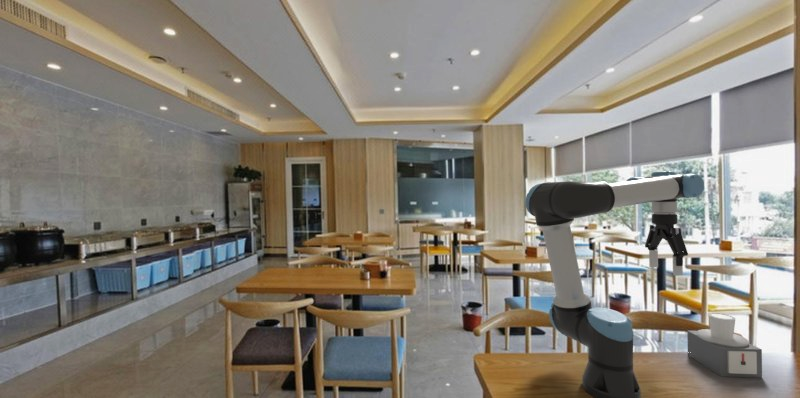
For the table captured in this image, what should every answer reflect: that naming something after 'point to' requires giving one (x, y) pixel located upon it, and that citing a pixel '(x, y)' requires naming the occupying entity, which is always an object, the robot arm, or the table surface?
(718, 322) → the shot glass
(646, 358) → the table surface
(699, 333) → the dial scale
